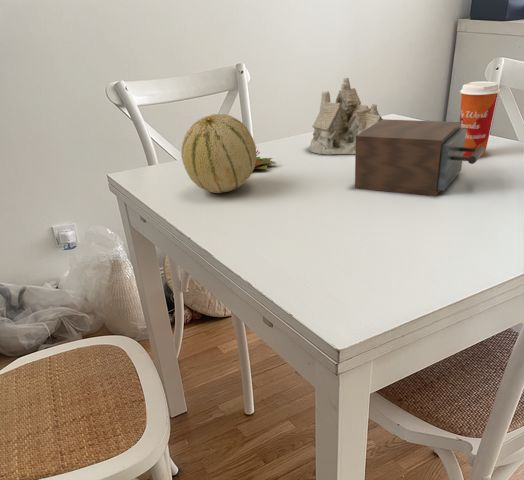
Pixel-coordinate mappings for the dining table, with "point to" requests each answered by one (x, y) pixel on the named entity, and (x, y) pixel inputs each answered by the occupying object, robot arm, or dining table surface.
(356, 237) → the dining table surface
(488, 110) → the paper cup
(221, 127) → the cantaloupe
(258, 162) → the lily flower
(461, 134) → the drawer
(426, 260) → the dining table surface
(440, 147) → the cabinet
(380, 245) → the dining table surface
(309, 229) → the dining table surface
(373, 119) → the ceramic cottage
